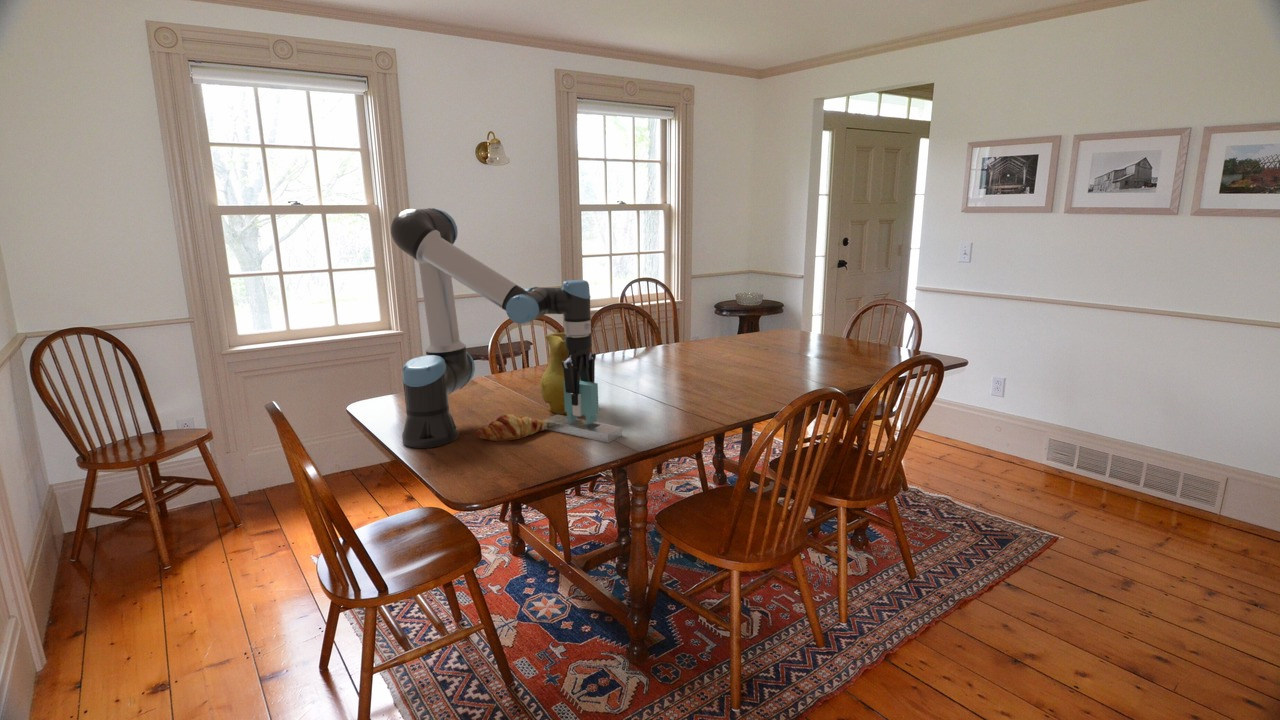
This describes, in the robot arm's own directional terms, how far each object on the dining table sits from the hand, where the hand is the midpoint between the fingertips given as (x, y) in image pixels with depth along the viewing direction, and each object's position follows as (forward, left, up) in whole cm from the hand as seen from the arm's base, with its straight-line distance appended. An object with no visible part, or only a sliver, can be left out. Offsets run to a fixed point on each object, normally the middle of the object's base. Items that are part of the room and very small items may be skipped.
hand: (581, 413), depth 190 cm
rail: (0, 0, -6) cm, 6 cm away
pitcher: (+17, +18, -6) cm, 26 cm away
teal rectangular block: (0, 0, -2) cm, 2 cm away
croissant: (-13, +16, -6) cm, 21 cm away
